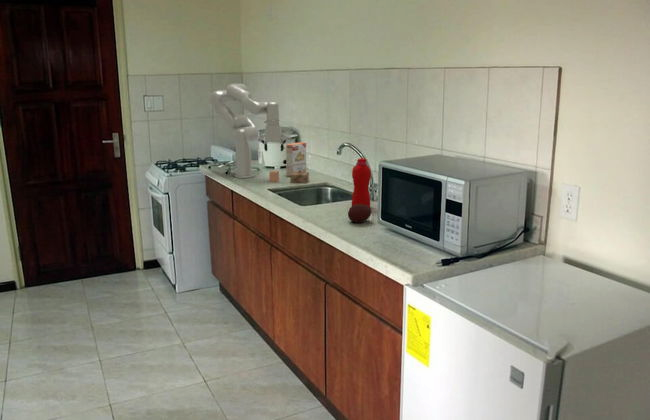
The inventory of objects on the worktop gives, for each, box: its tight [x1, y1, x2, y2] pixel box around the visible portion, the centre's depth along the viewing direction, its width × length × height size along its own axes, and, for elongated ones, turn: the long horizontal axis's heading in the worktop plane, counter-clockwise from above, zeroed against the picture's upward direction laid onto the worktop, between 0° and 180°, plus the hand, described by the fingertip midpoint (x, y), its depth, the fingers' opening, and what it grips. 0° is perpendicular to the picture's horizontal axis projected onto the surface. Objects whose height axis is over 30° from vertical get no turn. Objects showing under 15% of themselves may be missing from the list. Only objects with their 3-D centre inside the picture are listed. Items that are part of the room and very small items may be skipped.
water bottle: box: [348, 157, 372, 209], centre depth 263 cm, size 9×11×25 cm
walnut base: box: [289, 171, 310, 184], centre depth 328 cm, size 10×10×5 cm
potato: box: [347, 204, 372, 224], centre depth 241 cm, size 12×11×8 cm
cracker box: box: [285, 141, 307, 177], centre depth 346 cm, size 14×6×21 cm, turn 143°
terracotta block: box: [269, 170, 280, 183], centre depth 330 cm, size 5×5×6 cm
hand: (274, 150), depth 326 cm, fingers open, 9 cm apart
